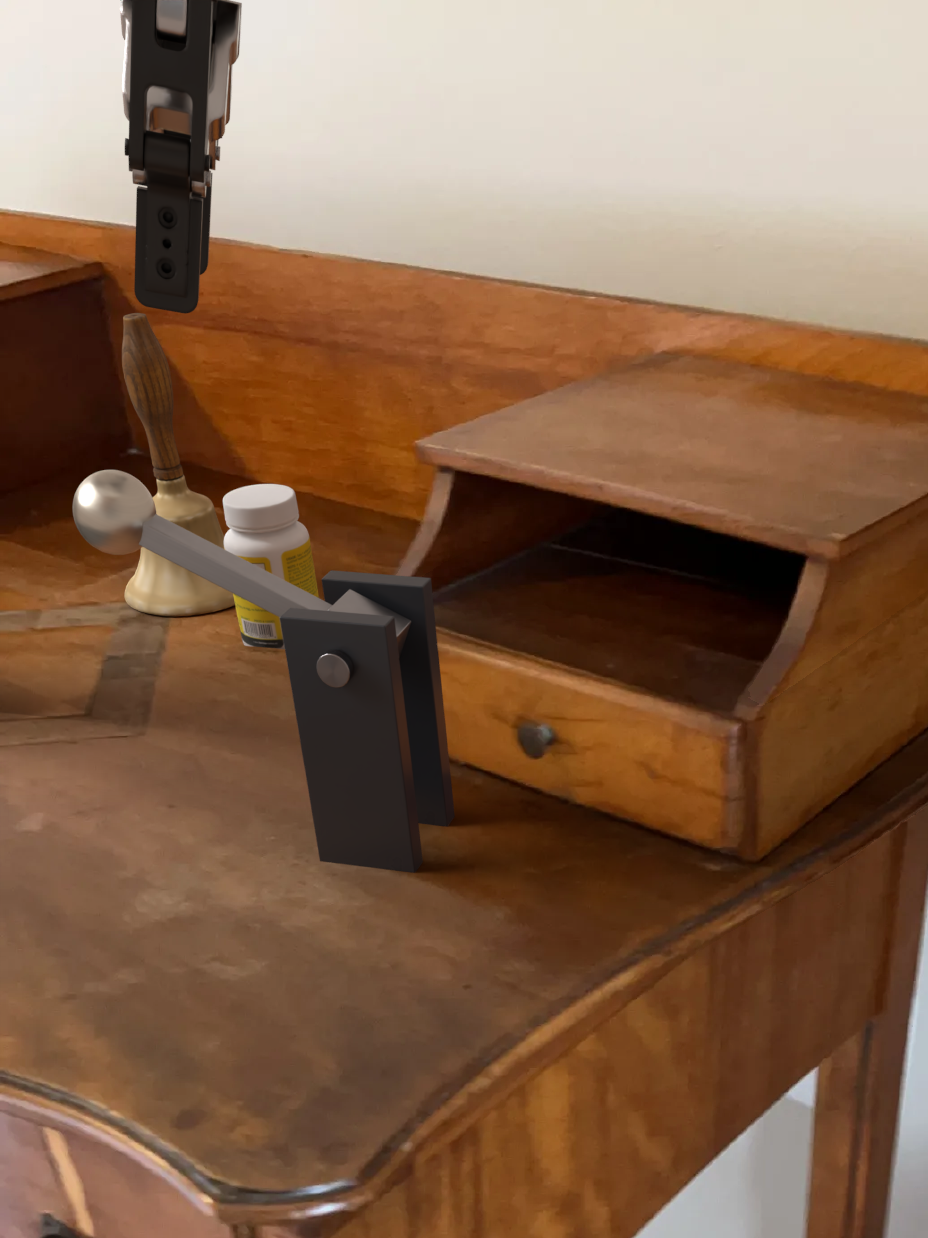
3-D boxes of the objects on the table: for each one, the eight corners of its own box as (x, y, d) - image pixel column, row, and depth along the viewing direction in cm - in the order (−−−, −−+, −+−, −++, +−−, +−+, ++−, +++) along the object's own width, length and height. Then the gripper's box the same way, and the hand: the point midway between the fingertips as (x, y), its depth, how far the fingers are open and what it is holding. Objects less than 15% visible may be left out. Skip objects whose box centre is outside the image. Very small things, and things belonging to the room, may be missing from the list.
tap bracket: (273, 912, 66) (218, 628, 58) (345, 822, 72) (305, 553, 64) (447, 935, 64) (415, 645, 56) (506, 841, 70) (485, 567, 62)
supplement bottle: (317, 620, 91) (296, 476, 86) (331, 650, 88) (309, 502, 83) (237, 632, 90) (210, 487, 85) (248, 663, 87) (220, 514, 82)
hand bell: (247, 614, 92) (196, 329, 82) (110, 619, 92) (43, 335, 83) (269, 564, 99) (224, 294, 89) (142, 568, 99) (82, 299, 89)
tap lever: (51, 543, 61) (62, 469, 59) (93, 516, 63) (105, 444, 61) (368, 705, 61) (390, 639, 59) (397, 672, 64) (419, 607, 62)
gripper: (94, -257, 55) (89, 245, 64) (43, -320, 43) (46, 303, 52) (306, -202, 57) (273, 279, 65) (312, -248, 45) (271, 342, 54)
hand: (173, 289), depth 59 cm, fingers open, 8 cm apart
